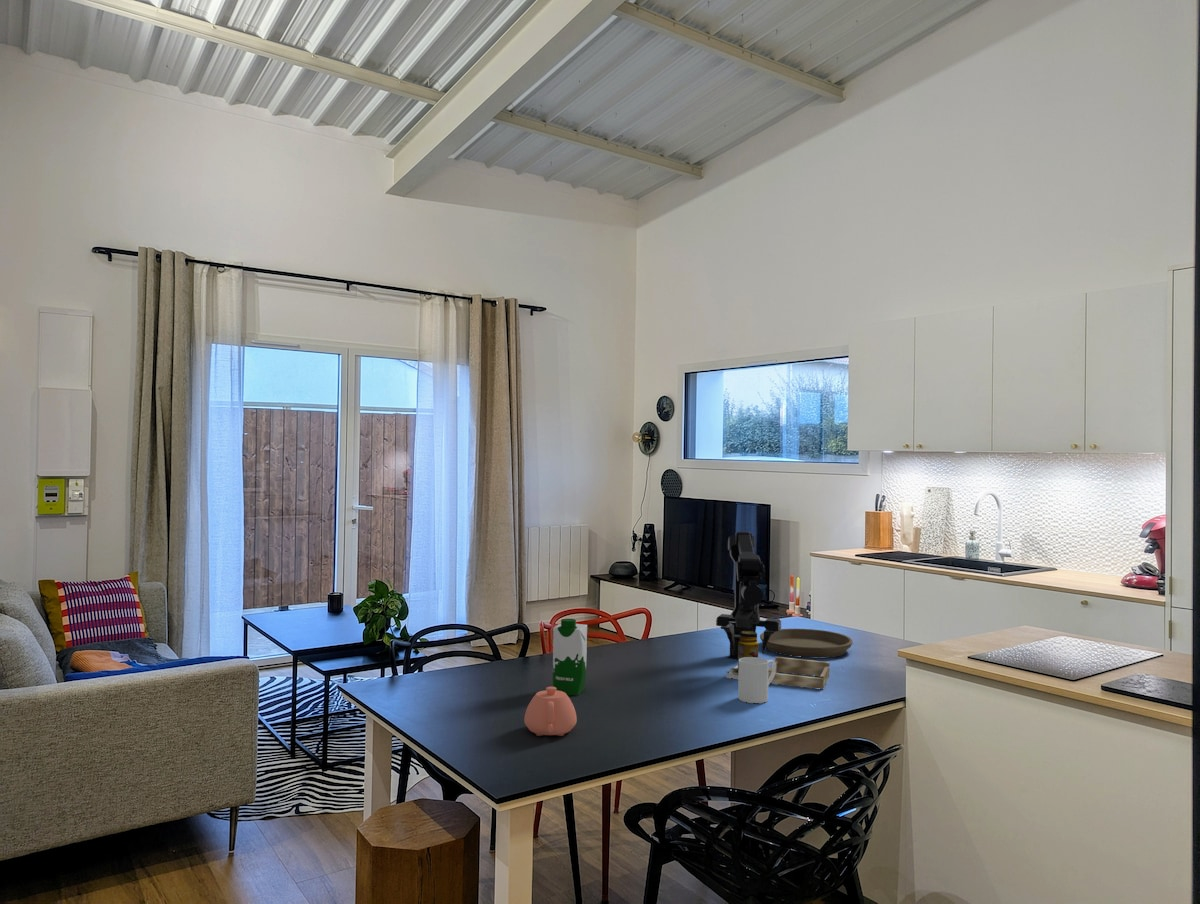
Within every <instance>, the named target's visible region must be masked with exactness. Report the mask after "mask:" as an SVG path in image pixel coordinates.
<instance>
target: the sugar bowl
mask: <svg viewBox="0 0 1200 904" xmlns="http://www.w3.org/2000/svg"><path fill="white" fill-rule="evenodd" d="M577 718H578V717H577V712H576V709H575V706H574V704H573V702H572V700H571V698H570V697H569V695H567V694H566V693H565V692H562V691H558V690H556V687H553V686H547V687H545V690H540V691H537V692H536V693H535V695H533V697H532V699H531V700H530V702H529V704H528V705H527V708H526V710H525V713H524V721H523V722H524V724H525V726H526V727H527V729H528V730H529V731H530V732H531V733H533V734H535V736H539V737H541V736H557V737H562V736H565V734H567V733H569V732H571V731H572V729H574V727H575V726H576V724H577V720H578V719H577Z"/></svg>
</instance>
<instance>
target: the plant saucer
mask: <svg viewBox="0 0 1200 904" xmlns="http://www.w3.org/2000/svg"><path fill="white" fill-rule="evenodd" d="M759 638H760V641H761V642H762V643H763V639H764V632H762V633H760V635H759ZM853 644H854V643H853V639H852V638H851V637H850V636H848V635H845V634H842V633H839V632H835V631H829V630H823V629H813V628H781V629H780V630H779V631H776V632H775V633H774V634H771V636H770V638H769V641H768V644H767V646H766V649H767V650H769V651H771V650H772V651H771V652H773V651H774V652H773V653H775V652H777V653H776V654H779V653H781V654H780V655H783V654H786V655H785V656H788V655H792V656H791V657H794V656H801V657H800V658H802V657H831V658H835V657H834V656H837V657H840V656H843V655H844V654H846V652H847V651H848V650H849V649H850V648H851V647H852V645H853Z"/></svg>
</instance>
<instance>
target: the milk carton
mask: <svg viewBox="0 0 1200 904" xmlns="http://www.w3.org/2000/svg"><path fill="white" fill-rule="evenodd" d="M552 629H553V632H552V634H553V637H552V638H553V642H552V643H553V644H552V645H553V646H552V648H553V649H552V687H556V690H558V691H562V692H565V693H566V694H567V696H576V697H577V696H579V695H580V694H581V693H582V692H584V690H586V680H587V656H588V655H587V654H588V653H587V649H588V645H587V644H588V643H587V640H588V636H587V635H588V624H584V623H583V624H581V623H577V620H576V619H575V618H562V619H560V623H558V624H557V625H555V626H554V627H553V628H552Z"/></svg>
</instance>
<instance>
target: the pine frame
mask: <svg viewBox="0 0 1200 904" xmlns="http://www.w3.org/2000/svg"><path fill="white" fill-rule="evenodd" d="M773 661H774V662H775V663H776V673H775V676H774V678H773V680H772V682H771V683H775V684H774V685H778V684H782V685H781V686H786V685H791V686H790V687H795V686H800V687H799V688H803V687H810V688H809V689H812V688H820V689H823V688H824V689H825V687H826V685H827V683H828V681H829V679H830V664H831V663H830V661H829V662H828V661H819V660H814V659H804V658H793V657H784V656H775V657H774V660H773ZM771 672H772V664H771V665H770V666H769V667H768V679H769V677H770V675H771ZM779 672H784V673H779ZM788 673H794V674H788ZM797 674H805V675H797ZM806 675H815V676H820V677H815V676H806ZM828 678H829V679H828ZM827 680H828V681H827ZM826 682H827V683H826ZM825 684H826V685H825ZM824 686H825V687H824ZM820 689H819V690H820ZM824 689H823V690H824Z"/></svg>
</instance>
